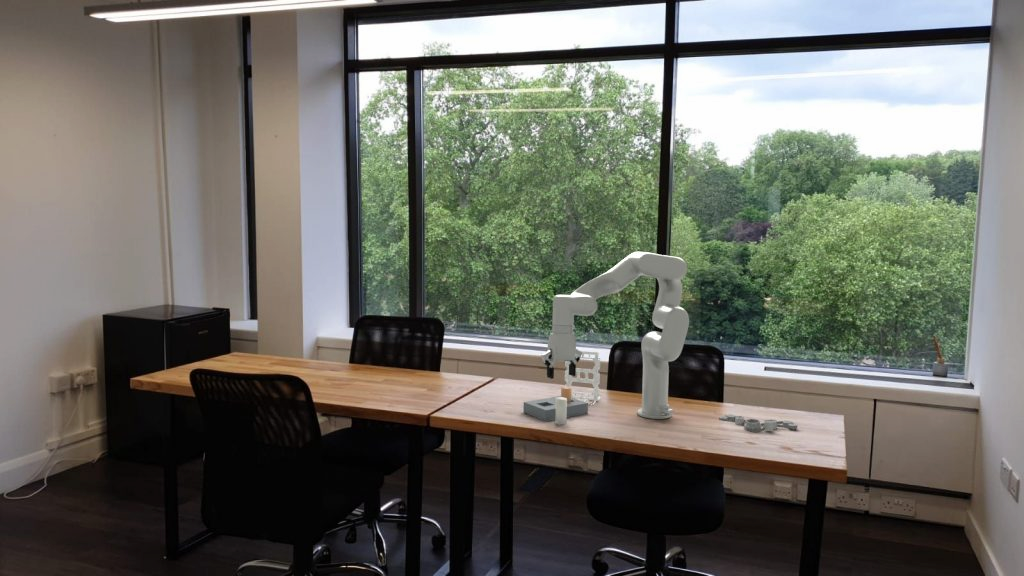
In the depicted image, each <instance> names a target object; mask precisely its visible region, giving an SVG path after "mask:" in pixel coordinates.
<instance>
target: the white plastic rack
mask: <svg viewBox="0 0 1024 576" xmlns="http://www.w3.org/2000/svg"><path fill="white" fill-rule="evenodd" d="M580 351H581V350H580ZM581 352H582V355H581V357H580V359H583V360H584V359H586V360H587V359H588V360H592V361H593V363H594V366H593V367H592V368H591V369H590V368H578V367H576V373H575V374H576V377H573V376H572V375H569V364H571V363H570V362H569V361H564V367H566V370H564V382H566V384H564V387H571V388H572V384H573V382H574V383H584V384H585V383H586V384H592V386H593V388H594V389H593V391H591V392H592V393H591V392H589V393H587V392H580V391H572V398H574V399H578V400H584V402H585V401H586V400H596V401H597V402H600V401H601V399H602V398H601V396H600V387H599V385H600V381H601V379H600V377H601V373H600V372H599V370H601V358H599V354H600V353H599V352H598V351H597V352H596V351H583V350H582V351H581ZM585 355H588V357H587V356H585ZM591 355H594V357H591ZM581 373H583V374H584V378H581V376H580V375H581ZM589 374H592V375H593V377H592V379H591V378H590V379H589ZM577 395H580V396H577ZM584 395H587V396H586V397H585V396H584ZM590 396H593V397H590ZM596 401H595V402H596ZM595 402H594V403H595ZM597 402H596V403H597ZM594 403H593V405H592V404H591V405H590V406H594V405H595V404H596V403H595V404H594Z"/></svg>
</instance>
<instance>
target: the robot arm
mask: <svg viewBox="0 0 1024 576" xmlns="http://www.w3.org/2000/svg"><path fill="white" fill-rule="evenodd" d="M687 272H688V265H687V263H686V261H685V260H684V259H683V258H681V257H680V256H679V257H678V256H672V255H671V256H670V255H665V254H663V255H662V254H658V253H653V252H648V251H634V252H632V253H630V254H629V255H627V256H626V257H624V259H622V260H621V261H619V262H618V263H617V264H616V265H614V266H612V267H611V268H610V269H609V270H607V271H606V272H604V273H602V274H600V275H599V276H596V277H594V278H593V279H590V280H589V281H587V282H585V283H584V284H582V285H581V286H580V287H578V288H577V289H575V290H574V291H573V292H571V294H556V295H554V296H553V297H552V299H553V300H552V324H551V325H552V328H551V329H552V330H551V332H550V333H549V337H548V341H547V346H546V347H547V350H546V351H545V352H544V353H542V354H541V359H542V362H543V364H544V365H545V366H546V377H547V378H549V379H550V380H551V379H553V380H554V378H555V373H554V372H555V368H554V366H555V363H559V362H560V363H561V362H565V361H566V362H567V361H569V362H570V363H571V364H569V375H572V377H575V376H576V374H577V373H576V368H577V365H578V363H579V361H580V360H581V358H580V357H582V352H581V350H579V349H577V346H576V344H577V343H576V335H575V333H574V330H575V329H576V326H575V324H574V323H575V322H574V319H575V316H582V317H583V316H584V317H589V316H592V315H594V313H596V311H597V310H598V302H597V300H598V299H599V298H602V297H605V296H608V295H613V294H615V293H618V292H621V291H623V290H624V289H625V288H626V287H627V286H629V285H630V284H631V283H633V282H634V281H635V280H637V279H639V277H642V276H643V277H644V276H645V277H650V278H656V280H657V282H658V286H659V287H658V295H657V298H656V302H655V306H654V309H653V312H652V316H651V317H652V320H651V321H652V324H653V325H654V326H655V327H657V328H659V329H661V330H662V332H660V331H656V330H654V331H649V332H647V333H646V334H645V335H644V336H643V337H642V339H641V355H642V388H641V389H642V394H641V408H639V409H637V415H638V416H640V417H642V418H646V419H654V420H663V419H668V418H671V417H672V416H673V414H675V410H674V409H671V408H670V407H671V405H670V404H668V403H669V401H668V400H669V373H670V369H669V368H670V367H669V362H674V361H675V360H677V359H678V358H679V356H681V354H682V351H683V348H684V344H685V340H686V338H687V334H688V329H689V325H690V318H689V317H690V316H689V314H688V312H687V311H686V309H684V308H683V307H681V306H680V305H681V300H682V296H683V285H682V280H681V279H683V278H684V277H685V276H686V275H687Z"/></svg>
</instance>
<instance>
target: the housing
mask: <svg viewBox="0 0 1024 576" xmlns="http://www.w3.org/2000/svg"><path fill="white" fill-rule="evenodd" d="M558 397H561V395H558V396H552V397H547V398H546V397H545V398H540V399H535V400H534V399H533V400H527V401H523V408H522V409H523V413H524V414H526V413H527V415H530V416H532V417H534V418H537V419H539V420H542V421H545V422H549V421H553V420H554V421H555V411H556V398H558ZM588 403H589V402H588V401H587V402H584V401H581V400H578V399H574V398H572V400H571V402H568V403H567V418H569V417H570V416H571V417H575V415H576V416H580V414H582V415H586V414H585V413H587V414H589V405H588Z"/></svg>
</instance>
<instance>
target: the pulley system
mask: <svg viewBox="0 0 1024 576" xmlns="http://www.w3.org/2000/svg"><path fill="white" fill-rule="evenodd" d="M718 419H719V420H721V421H724V422H725V421H726V422H731V423H732V422H734V424H736V425H741V426H742V425H743V426H744V430H745V431H747V432H755V433H756V432H757V433H758V432H761V431H764V430H766V431H772V430H777V428H782V429H783V428H784V429H790V430H791V431H792V430H796V429H798V424H796V423H794V421H793V422H792V421H791V420H785V419H784V420H782V421H781V420H780V421H778V420H776V419H766V420H764V423H761V421H760V420H759V419H755V418H748V419H744V416H740V415H735V414H727V415H719V417H718Z"/></svg>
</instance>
